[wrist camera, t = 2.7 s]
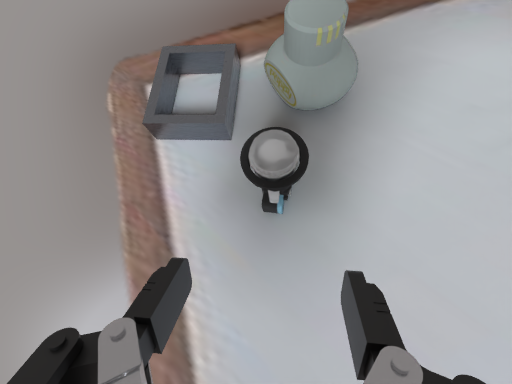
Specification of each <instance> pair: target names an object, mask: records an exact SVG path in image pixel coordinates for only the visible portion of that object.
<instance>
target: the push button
mask: <svg viewBox="0 0 512 384" xmlns="http://www.w3.org/2000/svg"><path fill="white" fill-rule="evenodd" d="M308 159H309V154H308V149H307V146H306V144H305V142H304V141H303V139H302V138H301V137H300V136H299V135H298V134H296V133H295V132H293V131H291V130H289V129H286V128H281V127H270V128H265V129H262V130H260V131H258V132H256V133H255V134H253V135H252V136H251V137H250V138H249V139H248V140H247V141H246V142H245V144H244V146H243V148H242V151H241V156H240V161H241V166H242V169H243V172H244V174H245V175H246V177H247V178H248V179H249V180H250V181H251V182H252V183H253V184H255V185H256V186H257V187H260V188H262V192H263V199H262V208H263V211H264V212H272V213H281V214H283V204H284V200H287V199H288V194H289V195H290V196H291V187H292V185H293V184H294V183H296V182H297V181H298V180H299V179H300V178H301V177H302V176H303V174H304V173H305V171H306V168H307V165H308ZM298 161H300V164H299V166H298V168H297V170H296V166H297V163H298ZM250 165H251V167H252V168H253V169H254V170H255V174H256V175H255V174H254V173H253V172H252V170H251V169H250ZM295 170H296V171H295Z"/></svg>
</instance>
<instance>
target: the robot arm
mask: <svg viewBox="0 0 512 384" xmlns="http://www.w3.org/2000/svg"><path fill="white" fill-rule="evenodd" d="M191 287H192V278H191V273H190V267H189V262H188V259H187V258H174V257H173V258H171V260H170V261H169V263H168V264H167V266H166V267H161V268H159V269H158V270H157V271H156V272H154V273H153V274H152V276H151V277H150V278H149V280H148V281H147V284H145V286H144V287H143V289H142V291H141V292H140V293H139V294H138V296H137V297H136V299H135V300H134V302H133V303H132V305H131V306H130V308H129V309H128V310H127V312H126V313H125V315H124V316H123V317H122V318H120V319H117V320H115V321H113V322H111V323H110V324H108V325H107V326H106V327H105V328H104V329H103V330H102V331H100V332H95V333H90V334H85V335H80V334H79V332H78V331H77V330H76V329H75V328H65V329H62V330H59V331H57V332H55V333H53V334H52V335H50V336H49V337H48V338H47V339H45V340H44V341H43V342H42V343H41V345H40V346H39V347H38V348H37V349H36V350H35V352H34V353H33V354H32V355H31V356H30V357H29V359H28V360H27V361H26V362H25V363H24V365H23V366H22V367H21V368H20V369H19V370H18V371H17V373H16V374H15V375H14V376H13V377H12V378H11V380H10V381H9V382H8V383H7V384H153V381H152V375H151V369H150V363H149V360H150V358H151V356H152V353H158V354H162V352H163V349H164V347H165V345H166V343H167V341H168V339H169V336H170V334H171V332H172V330H173V328H174V326H175V323H176V321H177V319H178V317H179V315H180V313H181V310H182V308H183V306H184V304H185V302H186V300H187V297H188V295H189V293H190V291H191ZM341 305H342V310H343V315H344V320H345V325H346V329H347V334H348V339H349V344H350V348H351V353H352V358H353V363H354V367H355V372H356V377H357V379H358V380H365V381H364V383H363V384H485V383H484V382H482V381H481V380H479V379H477V378H475V377H472V376H469V375H458V376H456V377H454V379H453V380H451V379H448V378H446V377H444V376H441V375H439V374H436V373H434V372H431V371H429V370H427V369H425V368H424V367H422V366H421V365H419V363H418V362H417V360H416V359H415V358H414V357H413V356H412V355H411V354H410V353H408V352H407V350H406V349H405V347H404V344H403V342H402V339H401V337H400V334H399V332H398V329H397V327H396V325H395V322H394V320H393V317H392V315H391V314H390V310H389V307H388V305H387V303H386V300H385V298H384V295H383V293H382V292H381V291H380V290H379V288H378V287H377V286H376V285H375V284H370V283H366V280H365V277H364V274H363V272H361V271H348V270H346V271H345V273H344V279H343V285H342V291H341Z"/></svg>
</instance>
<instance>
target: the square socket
mask: <svg viewBox="0 0 512 384" xmlns="http://www.w3.org/2000/svg"><path fill="white" fill-rule="evenodd" d="M209 73H222V76H221V82H220V89H219V95H218V102H217V109H216V114H191V115H171V114H172V109H173V104H174V100H175V95H176V91H177V86H178V82H179V77H180V74H209ZM239 73H240V62H239V57H238V52H237V48H236V44H213V45H189V46H165V47H162V50H161V54H160V58H159V62H158V66H157V70H156V73H155V77H154V81H153V85H152V89H151V92H150V96H149V100H148V104H147V108H146V111H145V115H144V119H143V123H142V124H143V125H144V126H145V127H146V128H147V129H148V130H149V131H150V132H151V133H152V134H153V136H154V137H155V138H156V139H175V140H231V137H232V129H233V121H234V113H235V105H236V97H237V89H238V81H239Z"/></svg>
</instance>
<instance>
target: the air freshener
mask: <svg viewBox="0 0 512 384" xmlns="http://www.w3.org/2000/svg"><path fill="white" fill-rule="evenodd" d="M347 15H348V4H347V2H346V0H290V1H289V3H288V4H287V5H286V7H285V20H284V34H283V35H281V36H280V37H279V38H278V39H277V40H276V41H275V42H274V43H273V44H272V46H271V47H270V49H269V50H268V52H267V55H266V57H265V61H264V68H265V72H266V74H267V77H268V79H269V81H270V83H271V84H272V86H273V88H274V89H275V91H276V92H277V94H278V95H279V96H280V97H281V99H282V100H283V101H284V102H285V103H286V104H287V105H289V106H290V107H292V108H295V109H300V110H315V109H320V108H324V107H327V106H329V105H331V104H333V103H335V102H337V101H338V100H339V99H341V98H342V97H343V96H344V95H345V94H346V93H347V92H348V91H349V90H350V88H351V86H352V85H353V83H354V81H355V78H356V75H357V72H358V60H357V57H356V54H355V51H354V49H353V48H352V46H351V44H350V43H349V42H348V40H347V39H346V38H345V37H344V36H343V33H344V29H345V24H346V20H347Z"/></svg>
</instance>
